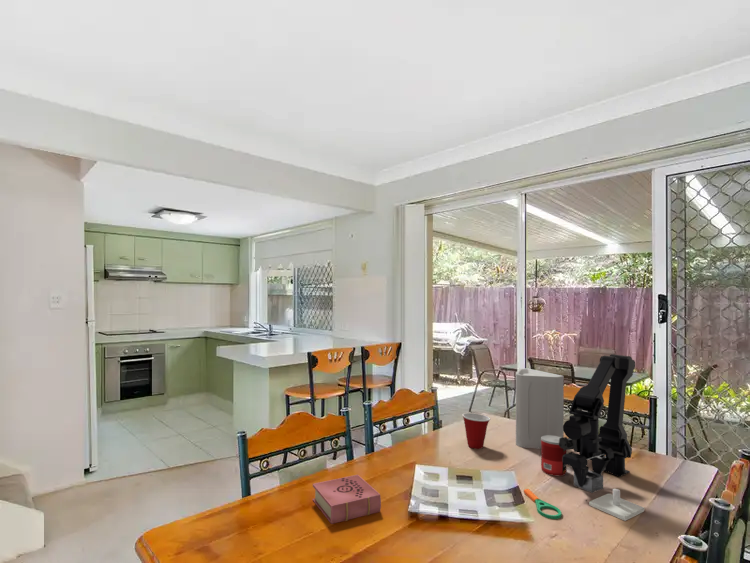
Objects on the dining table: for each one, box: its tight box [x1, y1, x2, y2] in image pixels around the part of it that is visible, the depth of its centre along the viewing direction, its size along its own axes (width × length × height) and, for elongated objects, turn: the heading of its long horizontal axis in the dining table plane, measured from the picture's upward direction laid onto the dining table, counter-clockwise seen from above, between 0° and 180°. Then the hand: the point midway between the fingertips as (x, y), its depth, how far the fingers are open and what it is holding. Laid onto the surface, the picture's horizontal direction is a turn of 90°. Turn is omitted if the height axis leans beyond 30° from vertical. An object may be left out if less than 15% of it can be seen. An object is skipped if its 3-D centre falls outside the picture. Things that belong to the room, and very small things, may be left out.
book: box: [312, 474, 382, 525], centre depth 122 cm, size 14×15×5 cm
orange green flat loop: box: [523, 488, 562, 520], centre depth 124 cm, size 15×6×2 cm, turn 10°
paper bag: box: [515, 367, 565, 450], centre depth 176 cm, size 19×15×28 cm
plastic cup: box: [461, 412, 491, 450], centre depth 171 cm, size 11×11×12 cm
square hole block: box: [573, 469, 604, 494], centre depth 136 cm, size 6×6×4 cm
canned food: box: [540, 435, 568, 477], centre depth 148 cm, size 8×8×11 cm
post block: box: [588, 488, 645, 522], centre depth 123 cm, size 10×10×5 cm
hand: (588, 483), depth 136 cm, fingers open, 8 cm apart
